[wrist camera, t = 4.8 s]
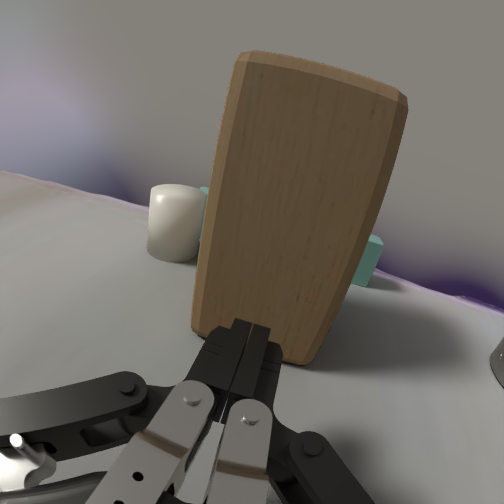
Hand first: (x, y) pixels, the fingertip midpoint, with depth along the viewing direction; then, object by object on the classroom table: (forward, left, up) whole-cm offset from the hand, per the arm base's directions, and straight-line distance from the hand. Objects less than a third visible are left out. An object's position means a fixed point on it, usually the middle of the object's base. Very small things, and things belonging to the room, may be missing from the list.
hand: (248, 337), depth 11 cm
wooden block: (0, -11, -8) cm, 14 cm away
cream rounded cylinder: (+12, -18, -8) cm, 23 cm away
